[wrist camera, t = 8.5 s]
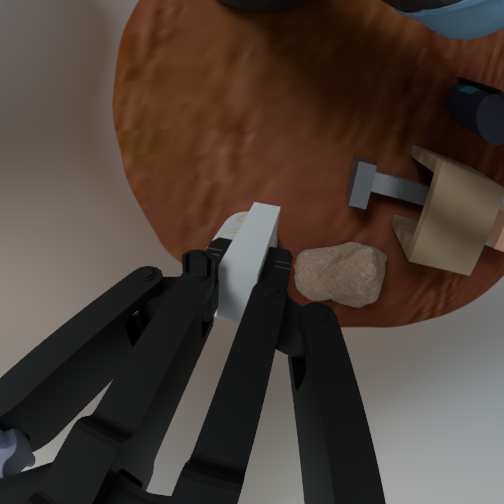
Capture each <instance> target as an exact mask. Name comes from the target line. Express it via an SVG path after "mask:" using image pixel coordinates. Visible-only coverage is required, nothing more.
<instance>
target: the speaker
mask: <svg viewBox="0 0 504 504" xmlns="http://www.w3.org/2000/svg"><path fill="white" fill-rule="evenodd" d="M457 80H459V81H462V82H464V83H460V84H457V85H455V86H452V88H451V90H450V92H449V94H448V96H447V106H448V109H449V111H450V114H451V117H452V118H453V119H455V120H456V121H457V122H459V123H460V124H461V125H463V126H464V127H466V128H467V129H469V130H470V131H472V132H473V133H475V134H476V135H478V136H479V137H481V138H482V139H483V140H485V141H486V142H488V143H489V144H490V145H493V146H499V145H501V144H503V143H504V92H503V91H501V90H499V89H496V88H493V87H490V86H487V85H484V84H481V83H477V82H474V81H470V80H467V79H463V78H460V77H457Z"/></svg>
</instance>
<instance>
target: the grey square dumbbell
mask: <svg viewBox="0 0 504 504" xmlns="http://www.w3.org/2000/svg"><path fill="white" fill-rule="evenodd" d="M376 169H377V165H376V164H375V163H374V162H373V161H372V159H371V158H368V157H364V156H360V155H356V154H354V157H353V162H352V167H351V171H350V176H349V180H348V185H347V189H346V193H345V194H346V197H347V201H348V205H349V206H354V207H358V208H362V209H366V207H367V204H368V200H369V196H370V193H371V191H372V192H376V193H379V194H383V195H387V196H391V197H395V198H398V199H402V200H405V201H409V202H412V203H416V204H419V205H423V206H424V205H425V202H426V199H427V196H428V192H429V189H430V186H428V185H425V184H422V183H419V182H415V181H412V180H409V179H405V178H402V177H399V176H395V175H392V174H388V173H384V172H381V171H377V170H376ZM500 206H502V207H504V201H503V200H502V202H501V205H500Z"/></svg>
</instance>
